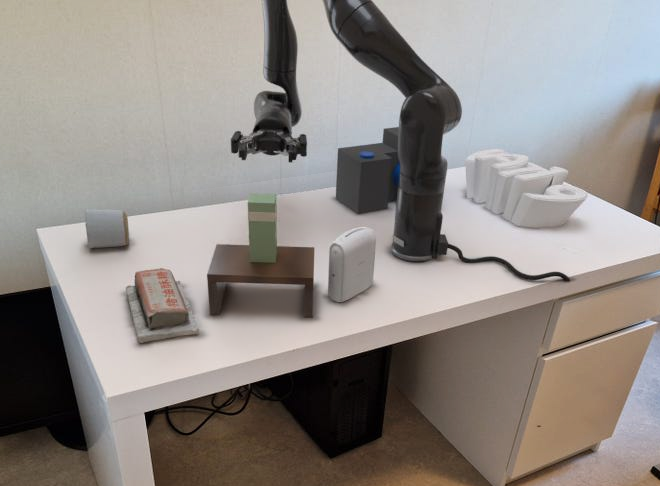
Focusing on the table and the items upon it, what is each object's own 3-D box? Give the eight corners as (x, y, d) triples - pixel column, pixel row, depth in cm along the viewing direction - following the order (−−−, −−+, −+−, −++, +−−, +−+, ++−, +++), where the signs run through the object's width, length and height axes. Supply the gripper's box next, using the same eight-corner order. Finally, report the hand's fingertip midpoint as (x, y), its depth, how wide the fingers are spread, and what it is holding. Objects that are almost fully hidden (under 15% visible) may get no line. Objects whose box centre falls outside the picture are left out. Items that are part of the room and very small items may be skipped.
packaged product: (122, 269, 118) (178, 262, 122) (125, 293, 121) (180, 286, 124) (134, 319, 105) (197, 310, 108) (138, 345, 108) (199, 335, 111)
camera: (369, 222, 153) (374, 154, 144) (335, 198, 164) (338, 133, 155) (455, 206, 163) (465, 141, 154) (418, 185, 175) (425, 123, 166)
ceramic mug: (131, 251, 135) (126, 215, 131) (89, 254, 133) (82, 218, 129) (129, 230, 144) (125, 196, 140) (90, 233, 142) (83, 199, 138)
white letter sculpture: (447, 185, 175) (453, 145, 169) (498, 179, 181) (506, 140, 175) (532, 238, 149) (542, 193, 143) (588, 228, 155) (600, 184, 149)
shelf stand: (313, 285, 127) (314, 247, 122) (312, 317, 117) (313, 277, 112) (218, 282, 126) (216, 243, 122) (210, 315, 116) (206, 274, 112)
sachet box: (277, 253, 120) (276, 194, 113) (275, 263, 116) (275, 203, 110) (251, 252, 119) (249, 193, 113) (249, 262, 116) (247, 202, 110)
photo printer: (341, 305, 121) (345, 243, 114) (324, 297, 123) (326, 235, 116) (375, 286, 128) (381, 226, 121) (358, 278, 130) (362, 219, 123)
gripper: (236, 109, 131) (226, 133, 118) (308, 112, 132) (306, 137, 118) (238, 147, 135) (228, 174, 122) (307, 150, 136) (305, 178, 123)
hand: (267, 156), depth 120 cm, fingers open, 8 cm apart
